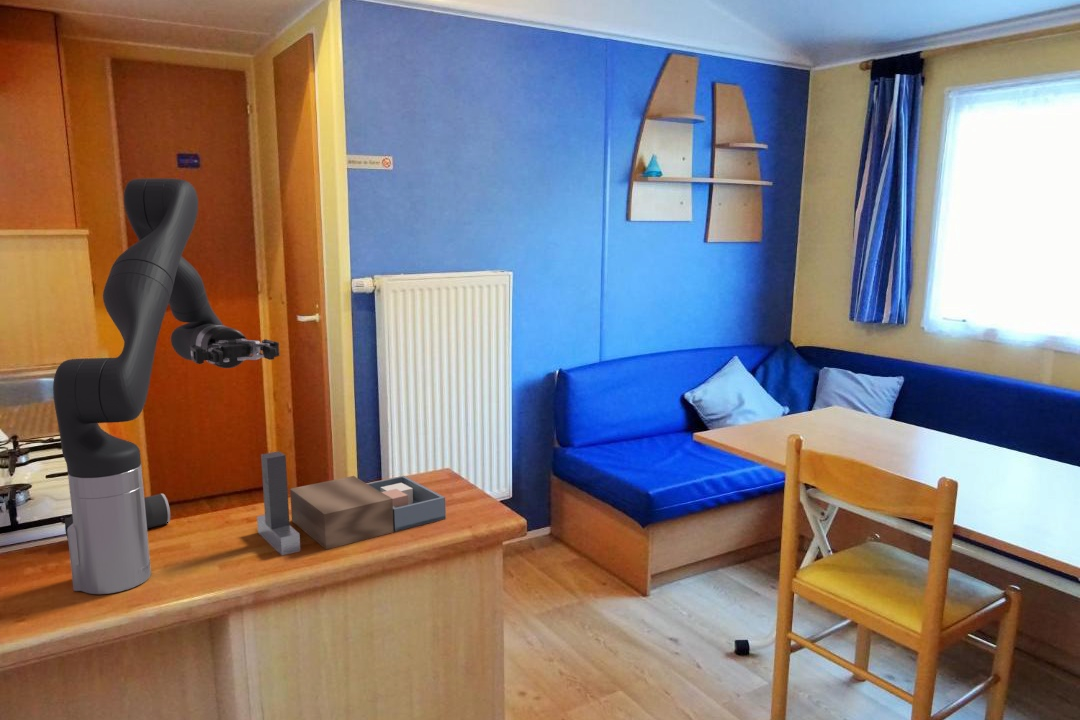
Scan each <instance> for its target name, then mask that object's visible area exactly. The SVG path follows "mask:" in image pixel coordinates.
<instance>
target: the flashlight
mask: <svg viewBox="0 0 1080 720" xmlns="http://www.w3.org/2000/svg"><path fill="white" fill-rule="evenodd" d="M144 500H145V511H146V522H147V529H151V528H155V527H159V526H163V525H166V524H167V525H168V524H169V523H170V522H171V509H170V505H169V501H168V498H167V497H166V495H165V494H164V493H158V494H154V495H150V496H146V497H145V496H144ZM167 522H169V523H167ZM72 524H73V516H72V514H71V515H70V516H69V517H66V518H65V519H64V528H65V529H64V531H65V534H66V538H67V540H68V534H67V529H68V527H69V526H70V525H72Z"/></svg>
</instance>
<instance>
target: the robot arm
mask: <svg viewBox="0 0 1080 720" xmlns="http://www.w3.org/2000/svg"><path fill="white" fill-rule="evenodd" d="M123 204H124V210H125V214H126V216H127V220H128V222H129V225H130V226H131V227H132V228H131V229H132V230H133V232H134V234H135V235H136V238H137V239H138V241H137V242H136V243H134V244H133V245H131V246H129V247H128V248H127V249H125V251H123V252H122V253H121V254H120V255H119V256H118V257H117V258H116V260H115V261H114V262H113V264H112V266H111V268H110V271H109V273H108V274H109V275H108V277H107V279H106V282H105V284H104V288H103V291H102V302H103V303H104V307H105V309H106V310H105V311H106V312H107V313H108V315H109V317H110V319H111V320H112V322H113V323H114V325H115V326H116V328H117V329H118V331H119V333H120V335H121V338H122V339H123V348H122V351H121V353H120V354H118V356H117V357H97V358H96V357H94V358H85V357H84V358H71V359H66V360H65V361H64V360H63V362H61V363H60V364H59V365H58V367H57V368H56V370H55V374H54V378H53V385H52V386H53V388H52V391H53V392H52V393H53V403H54V411H55V414H56V420H57V427H58V432H59V438H60V445H61V452H62V456H63V459H64V461H65V462H66V463H65V465H66V469H67V476H68V477H67V478H68V479H67V480H68V489H69V495H70V496H69V497H70V505H71V513H72V514H71V515H72V516H73V524H72V525H70V526H69V527H68V529H67V534H68V539H67V541H68V542H67V543H68V550H69V552H68V553H69V561H70V569H71V580H72V588H73V591H74V592H84V593H85V594H90V595H106V594H114V593H119V592H122V591H127V590H130V589H133V588H135V587H137V586H139V585H141V584H143V583H145V582H146V581H148V580H149V578H151V575H152V567H151V558H150V547H149V535H148V528H147V522H146V511H145V500H144V498H145V492H144V491H145V489H144V483H143V470H142V461H141V460H142V457H141V451H140V448H139V446H138V445H137V444H136V443H134V442H132V441H129V440H126V439H122V438H120V437H116V436H113V435H112V434H110V433H108V432H107V431H105V430H104V429H103V428H101V426H100V425H99V424H107V423H109V424H110V423H112V424H113V423H124V422H131V421H133V420H135V419H137V418H138V417H139V416H140V415H141V413H142V412H143V410H144V407H145V404H146V401H147V397H148V392H149V389H150V388H149V387H150V381H151V375H152V370H153V366H154V358H155V354H156V348H157V342H158V340H159V339H158V338H159V335H160V332H161V328H162V325H163V320H164V318H165V315H166V312H167V309H168V306H169V309H170V311H171V314H172V316H173V317H174V318H175V319H176V320H177V321H178V322H182V323H185V324H181V325H179V326H177V327H175V329H174V330H173V331H172V332H171V335H170V343H171V346H172V348H173V350H174V351H175V353H176V354H177V355H178V356H179V357H181V358H182V359H185V360H187V361H192V362H194V363H195V364H197V365H202V364H204V363H205V361H206V362H207V363H208V364H212V365H214V366H216V367H219V368H222V369H232V368H235V367H237V366H238V367H239V365H241V364H243V362H244V361H247V360H248V361H249V360H250V361H256V360H259V359H260V360H261V358H262V359H263V358H264V359H267V360H269V361H271V360H274V359H275V358H277V357H280V347H279V346H280V343H279V342H278V341H274V340H270V339H265V338H264V339H262V340H261V341H260V340H253V339H247V337H246V336H245V335H244V333H242V332H241V331H239V330H238V329H235V328H234V327H233V328H232V327H230V326H226V325H224V324H223V323H222V320H221V319H219V318H218V316H217V315H216V313H215V311H214V309H213V308H212V305H210V302H209V299H208V295H207V292H206V288H205V284H204V282H203V279H202V277H201V275H200V274H199V272H198V271H197V270H196V268H195V267H194V266H193V265H192V264H191V263H190V262H189V261H188V260H186V259H185V258H184V257H183V256H182V255H183V252H184V250H185V248H186V245H187V243H188V241H189V239H190V236H191V234H192V232H193V229H194V227H195V224H196V221H197V217H198V211H199V199H198V194H197V191H196V189H195V186H193V184H191V182H189V181H187V180H184V179H179V178H152V177H151V178H134V179H133V178H132V180H129V181H128V182H127V184H126V186H125V187H124V193H123ZM261 352H262V353H261Z"/></svg>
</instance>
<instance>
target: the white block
mask: <svg viewBox="0 0 1080 720" xmlns="http://www.w3.org/2000/svg"><path fill="white" fill-rule="evenodd" d="M393 489H398V490H399V491H401V492H403V493H405V494H407V495H408V505H410V504H413V488H411V487H409V486H407V485H405V484H403V483H398V484H393V485H389V486H384V487H381V492H384V491H389V490H393Z"/></svg>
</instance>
